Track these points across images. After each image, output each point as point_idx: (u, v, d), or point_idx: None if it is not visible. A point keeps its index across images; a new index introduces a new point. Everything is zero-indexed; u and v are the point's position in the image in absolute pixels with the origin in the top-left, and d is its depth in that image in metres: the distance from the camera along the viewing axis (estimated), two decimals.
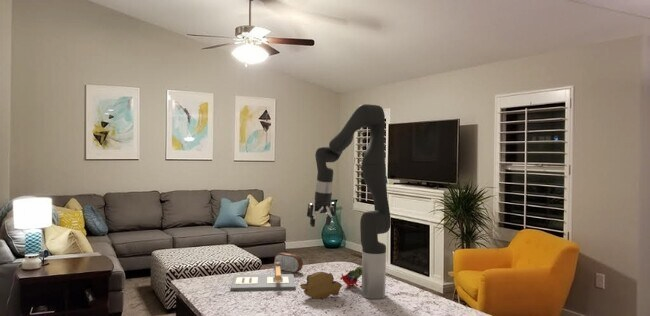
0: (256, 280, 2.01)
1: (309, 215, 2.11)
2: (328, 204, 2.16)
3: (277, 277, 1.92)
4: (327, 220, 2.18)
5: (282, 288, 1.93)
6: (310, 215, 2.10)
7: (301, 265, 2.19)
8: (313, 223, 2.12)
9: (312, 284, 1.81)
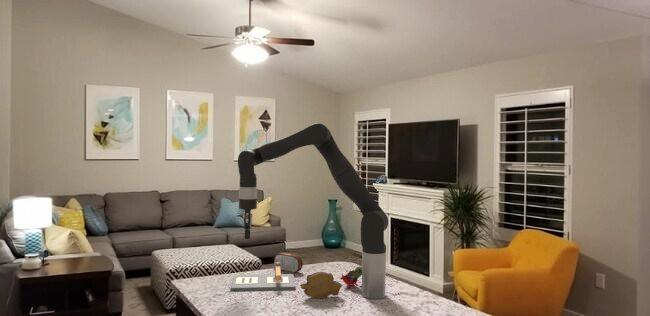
0: (256, 280, 2.01)
1: (249, 227, 1.98)
2: None
3: (277, 277, 1.92)
4: None
5: (282, 288, 1.93)
6: (250, 226, 1.98)
7: (301, 265, 2.19)
8: (249, 235, 2.00)
9: (312, 284, 1.81)
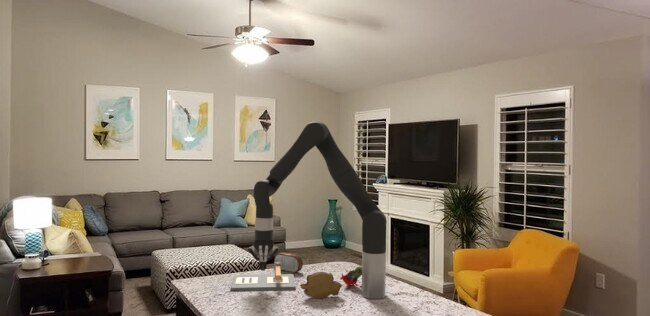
0: (256, 280, 2.01)
1: (255, 257, 1.96)
2: (270, 243, 1.96)
3: (277, 277, 1.92)
4: None
5: (282, 288, 1.93)
6: (256, 257, 1.95)
7: (301, 265, 2.19)
8: (261, 266, 1.96)
9: (312, 284, 1.81)
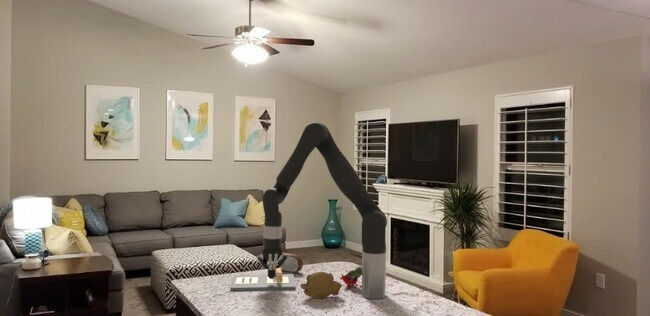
0: (256, 280, 2.01)
1: None
2: (279, 251, 1.97)
3: (278, 277, 1.92)
4: None
5: (282, 288, 1.93)
6: (265, 266, 1.95)
7: (301, 265, 2.19)
8: (270, 275, 1.96)
9: (312, 284, 1.81)
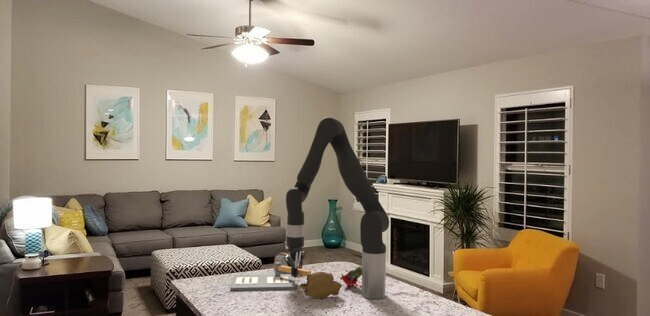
0: (256, 280, 2.01)
1: None
2: (301, 248, 2.02)
3: (309, 273, 1.99)
4: None
5: (282, 288, 1.93)
6: (292, 264, 1.97)
7: (301, 265, 2.19)
8: (295, 273, 1.99)
9: (312, 284, 1.81)
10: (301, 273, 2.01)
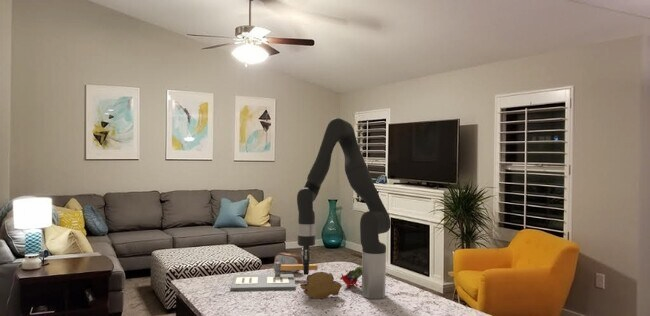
0: (256, 280, 2.01)
1: (307, 263, 2.02)
2: None
3: (317, 267, 2.11)
4: None
5: (282, 288, 1.93)
6: (308, 263, 2.02)
7: None
8: (308, 270, 2.04)
9: (312, 284, 1.81)
10: (309, 268, 2.10)
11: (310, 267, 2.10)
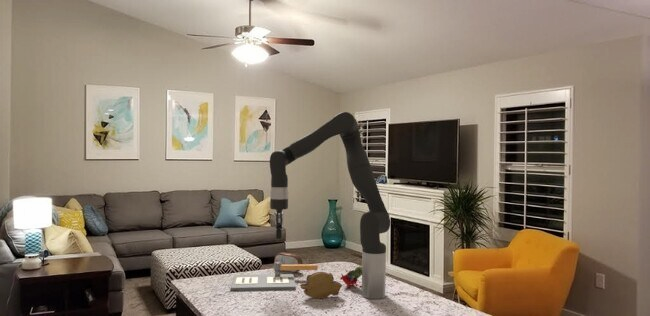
0: (256, 280, 2.01)
1: (280, 226, 1.99)
2: None
3: (317, 267, 2.11)
4: None
5: (282, 288, 1.93)
6: (281, 226, 1.99)
7: None
8: (280, 234, 2.02)
9: (312, 284, 1.81)
10: (309, 268, 2.10)
11: (310, 267, 2.10)
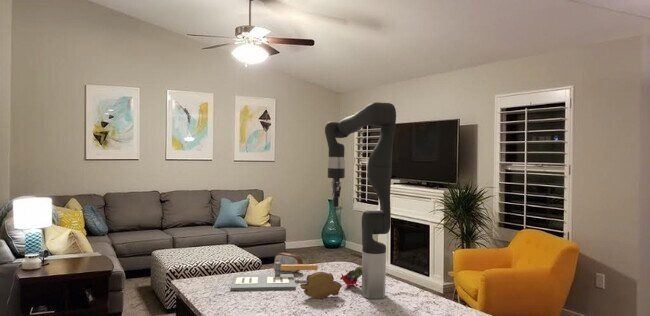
0: (256, 280, 2.01)
1: (338, 194, 2.07)
2: None
3: (317, 267, 2.11)
4: None
5: (282, 288, 1.93)
6: None
7: None
8: None
9: (312, 284, 1.81)
10: (309, 268, 2.10)
11: (310, 267, 2.10)
